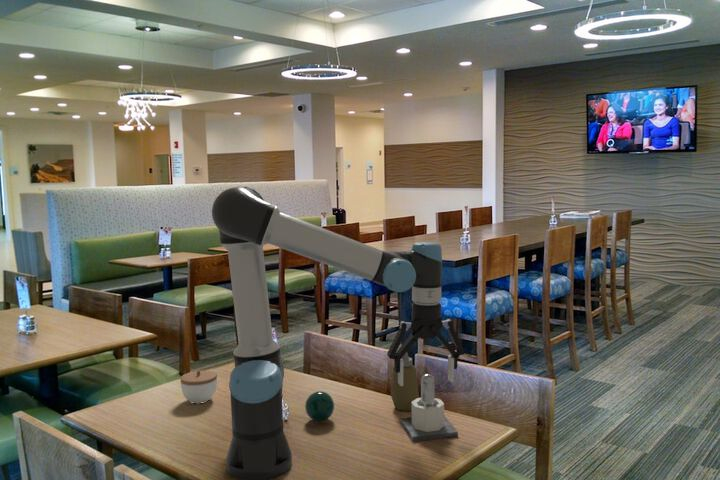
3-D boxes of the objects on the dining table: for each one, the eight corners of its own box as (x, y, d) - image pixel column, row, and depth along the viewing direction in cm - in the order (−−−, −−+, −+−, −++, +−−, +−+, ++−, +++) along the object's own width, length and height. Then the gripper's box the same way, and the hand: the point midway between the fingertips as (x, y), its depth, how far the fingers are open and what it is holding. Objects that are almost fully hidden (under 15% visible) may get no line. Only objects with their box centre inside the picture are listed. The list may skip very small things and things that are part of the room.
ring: (417, 432, 151) (417, 410, 151) (409, 420, 159) (408, 398, 158) (447, 429, 153) (447, 406, 152) (437, 417, 160) (437, 396, 160)
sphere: (324, 412, 169) (323, 385, 169) (340, 421, 163) (339, 392, 162) (300, 419, 165) (299, 391, 164) (315, 428, 158) (314, 399, 157)
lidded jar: (188, 394, 187) (186, 365, 186) (222, 394, 186) (220, 364, 185) (176, 407, 176) (174, 376, 175) (212, 407, 176) (210, 376, 175)
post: (412, 441, 149) (411, 383, 148) (400, 422, 161) (399, 369, 159) (457, 436, 151) (457, 379, 150) (442, 418, 163) (442, 365, 162)
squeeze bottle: (417, 413, 167) (416, 351, 165) (389, 412, 168) (387, 350, 166) (420, 403, 174) (419, 343, 173) (393, 401, 176) (392, 342, 174)
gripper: (382, 307, 147) (382, 390, 149) (478, 303, 151) (476, 384, 153) (376, 301, 154) (375, 380, 156) (467, 297, 159) (466, 375, 161)
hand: (425, 382), depth 155 cm, fingers open, 13 cm apart
